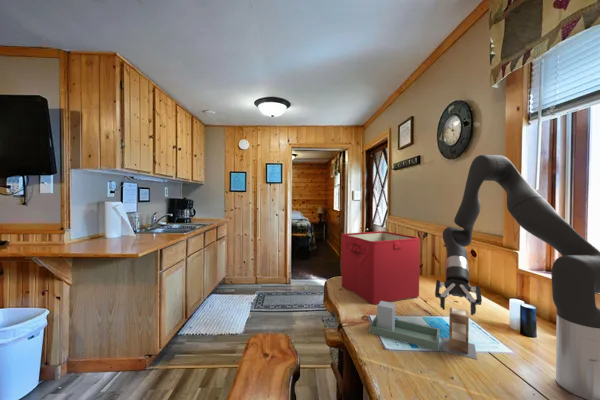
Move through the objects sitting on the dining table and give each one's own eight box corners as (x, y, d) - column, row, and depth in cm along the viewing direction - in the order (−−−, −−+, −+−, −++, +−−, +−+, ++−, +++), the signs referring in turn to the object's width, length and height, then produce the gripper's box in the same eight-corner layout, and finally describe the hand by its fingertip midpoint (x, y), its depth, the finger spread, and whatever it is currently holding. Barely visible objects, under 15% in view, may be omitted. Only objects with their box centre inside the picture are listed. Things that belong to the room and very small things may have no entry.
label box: (467, 345, 84) (467, 310, 84) (468, 354, 79) (468, 317, 79) (449, 340, 86) (449, 306, 86) (449, 349, 82) (449, 313, 81)
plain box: (394, 328, 95) (395, 303, 94) (392, 334, 90) (392, 308, 90) (380, 325, 97) (380, 300, 97) (377, 330, 93) (377, 305, 93)
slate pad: (474, 346, 84) (474, 344, 84) (477, 361, 77) (477, 359, 77) (442, 338, 89) (442, 336, 89) (441, 352, 81) (441, 350, 81)
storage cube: (369, 307, 114) (370, 240, 114) (337, 287, 140) (337, 232, 140) (424, 297, 126) (425, 237, 126) (386, 280, 152) (386, 230, 152)
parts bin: (439, 337, 90) (439, 328, 90) (438, 352, 81) (438, 343, 81) (376, 322, 100) (376, 314, 100) (369, 333, 91) (369, 325, 91)
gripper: (436, 262, 102) (434, 302, 92) (480, 268, 95) (483, 311, 85) (436, 273, 107) (434, 311, 97) (478, 278, 100) (481, 321, 90)
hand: (457, 311), depth 91 cm, fingers open, 8 cm apart
